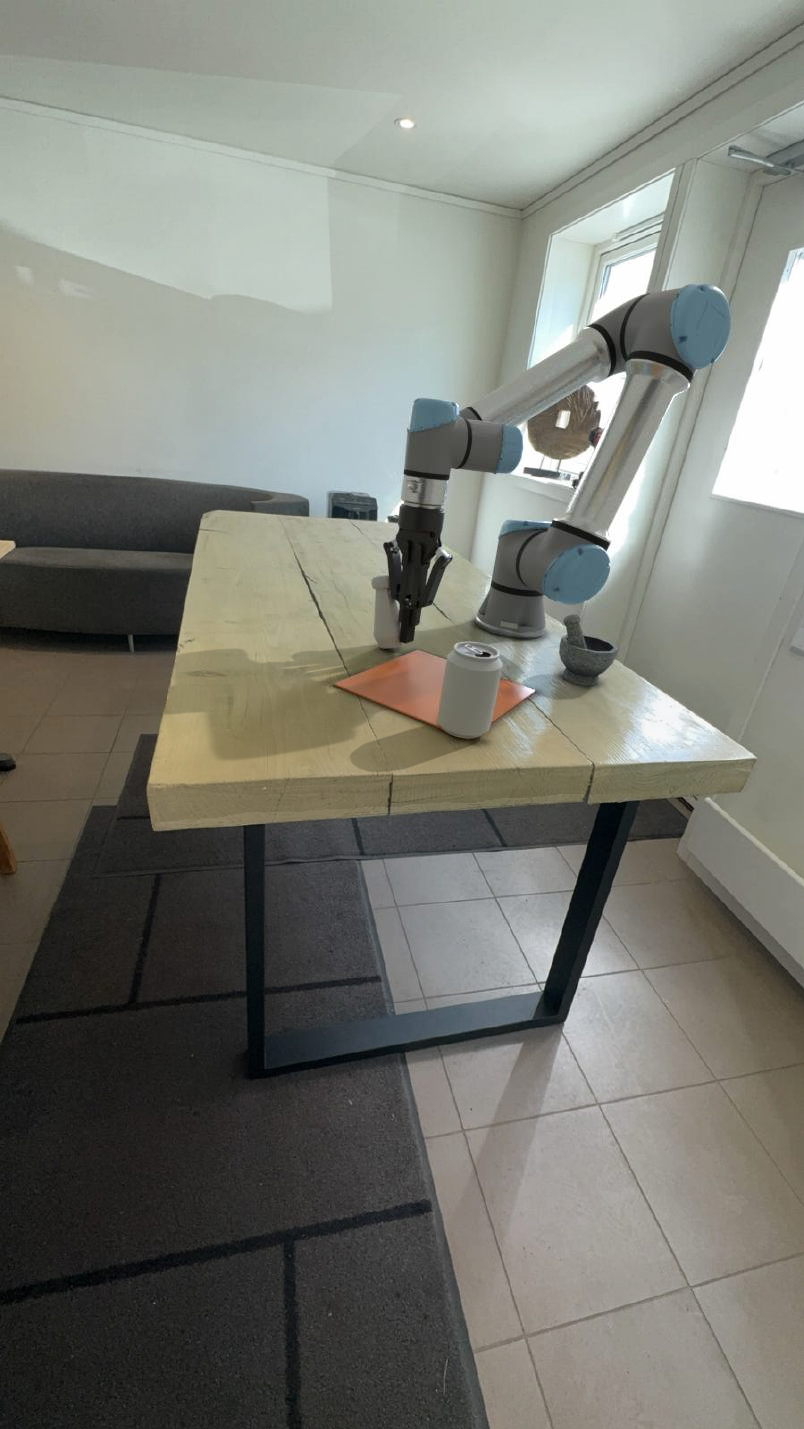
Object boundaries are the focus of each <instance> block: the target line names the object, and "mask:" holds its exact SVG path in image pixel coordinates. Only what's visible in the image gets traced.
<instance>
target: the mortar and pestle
mask: <svg viewBox="0 0 804 1429" xmlns="http://www.w3.org/2000/svg"><path fill="white" fill-rule="evenodd" d="M563 625H564V626H565V629H566V634H565V635H564V636H562V637H561V638H560V642H559V651H558V654H559V657H560V661H561V663H562V664H563V665H564V667H565V668H564V670H563V673H562V677H563V678H564V680H566V681H568V682H571V683H573V684H575V685H579V686H586V687H587V686H588V687H589V686H595V685H597V684H598V682H599V676H600V675H603V673H605V672H606V671H607V670H608V669H609V668H610V667H611V666H612V665H613V663H614V661H615V659H616V658H617V654H618V651H619V648H618V647H617V646H616V645H615V644H614V642H611V641H608V640H606V639H603V638H601V637H598V636H594V635H593V636H592V635H588V634H584V633H583V629H582V626H581V617H580V616H579V615H578V614H574V613H573V614H569V615H567V616H565V617H564V618H563Z"/></svg>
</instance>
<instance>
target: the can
mask: <svg viewBox="0 0 804 1429" xmlns="http://www.w3.org/2000/svg"><path fill="white" fill-rule="evenodd" d="M452 647H453V650H451V651H450V652H449V653H448V654H447V655H446V667H445V673H444V679H443V685H442V691H441V698H440V704H439V710H438V716H437V722H438V723H439V725H440V726H441V727H442V728H443V730H442V731H444V732H446V733H447V734H448V735H451V736H452V737H453V736H454V737H455V738H456V737H457V738H459V739H464V738H470V739H476V738H479V737H481V736H483V735H484V734H486V733H488V732H489V730H490V729H491V724H492V723H491V720H492V716H493V711H494V706H495V701H496V696H497V691H498V687H499V682H500V678H501V677H502V673H503V672H502V671H503V666H504V664H503V662H502V660H501V658H500V656H501V652H500V651H499V650H498V649H497V648H496V647H494V646H493V645H489V644H487V643H483V642H478V641H460V642H457V643H455V644H454V645H453V646H452Z"/></svg>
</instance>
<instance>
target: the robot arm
mask: <svg viewBox="0 0 804 1429" xmlns="http://www.w3.org/2000/svg"><path fill="white" fill-rule="evenodd" d="M730 311H731V307H730V304H729V301H728V299H727V296H726V295H725V293H724V292H723V291H722V289H720V288H719V287H717V286H716V285H714V284H710V283H701V284H695V283H689V284H686V285H684V286H682V287H678V288H677V287H676V288H671V289H667V290H661V291H660V290H659V291H656V292H649V293H643V294H640V295H637V296H635V297H633V298H631V299H628V300H627V301H625V302H623V303H622V304H620V305H619V306H617V307H615V308H614V309H612V310H610V311H608V312H607V313H606V314H604V315H602V316H601V317H599V318H598V319H596V320H595V321H593V322H591V323H590V324H589V325H587V326H585V327H583V328H582V329H580V331H578V333H577V335H576V338H575V340H574V341H572V342H570V343H569V344H567V345H565V346H564V347H561V349H559V350H557V351H556V352H554V353H552V354H550V355H549V356H548V357H546V358H544V359H542V360H541V361H539V362H538V363H536V364H534V365H533V366H531V367H529V368H528V369H526V370H525V371H523V372H522V373H520V374H518V375H516V376H515V377H514V378H512V379H510V380H508V381H507V382H505V383H504V384H502V385H500V386H499V387H497V388H495V389H494V390H491V392H489V393H487V394H486V395H484V396H482V397H481V398H479V399H477V400H476V401H474V402H472V403H471V404H469V405H468V406H466V407H464V408H463V409H460V407H459V405H458V403H457V402H456V401H450V400H446V399H439V398H429V397H428V398H427V397H418V398H416V399H414V400H413V401H412V404H411V405H410V411H409V414H408V415H409V416H408V422H407V427H406V443H405V456H404V467H403V472H402V473H403V475H402V482H401V483H402V484H401V492H400V500H401V501H402V502H403V503H401V504H400V505H399V509H398V518H397V519H398V520H397V526H398V530H397V532H396V535H395V538H394V539H392V540H390V541H384V542H383V544H382V547H383V550H384V553H385V555H386V561H387V571H388V574H389V583H390V594H391V598H392V599H395V600H396V602H397V603H398V604H399V606H398V609H399V616H398V620H399V622H401V630H400V639H399V642H401V643H402V644H405V645H406V644H409V643H412V642H414V641H415V634H416V633H415V632H416V627H417V626H419V625H420V623H421V615H422V609H423V608H427V607H429V606H430V607H431V606H432V605H433V604H434V601H435V598H436V595H437V592H438V590H439V587H440V584H441V582H442V579H443V576H444V574H445V571H446V569H447V567H448V566H449V564H450V563H451V562H452V561H453V560H454V556H453V554H451V553H447V552H446V551H445V550H444V548H443V542H442V536H441V535H442V533H443V529H444V522H445V513H446V511H445V509H444V508H443V507H445V506H446V505H447V500H448V493H449V484H450V478H451V471H452V470H465V471H472V472H478V473H479V472H482V473H490V474H493V475H497V474H501V475H502V474H505V475H507V474H511V473H512V472H514V471H515V470H516V469H517V468H518V466H519V465H520V462H521V461H522V458H523V451H524V446H525V442H524V436H523V435H524V434H523V432H522V431H521V429H520V428H519V426H521V425H523V424H524V423H526V422H527V421H529V420H530V419H532V418H534V417H535V416H537V415H539V414H541V413H543V411H545V410H547V409H549V408H550V407H552V406H553V405H555V404H556V403H558V402H560V401H562V400H563V399H565V398H567V397H568V396H570V395H572V394H573V393H575V392H576V391H578V390H580V389H582V388H583V387H585V386H586V385H588V384H590V383H591V382H592V383H597V384H598V383H601V382H603V381H605V380H607V379H608V378H610V377H613V376H614V375H617V374H620V373H625V375H626V381H625V383H624V386H623V387H622V389H621V392H620V394H619V396H618V398H617V400H616V403H615V405H614V407H613V409H612V411H611V413H610V416H609V418H608V420H607V422H606V424H605V426H604V428H603V431H602V433H601V434H600V436H599V439H598V441H597V443H596V445H595V447H594V449H593V452H592V453H591V456H590V458H589V461H588V462H587V465H586V467H585V468H584V471H583V473H582V475H581V478H580V480H579V481H578V483H577V486H576V488H575V490H574V492H573V495H572V497H571V499H570V500H569V503H568V505H567V507H566V509H565V511H564V512H563V513H562V514H559V515H558V516H556V517H553V519H552V520H551V521H539V520H538V521H537V520H524V519H506V520H505V521H504V522H502V525H501V529H500V531H499V535H498V536H497V540H498V542H497V548H496V552H495V558H494V563H493V564H494V565H493V569H492V575H491V580H490V585H489V589H488V591H487V594H486V595H485V598H484V600H483V601H482V603H481V605H480V607H479V609H478V610H477V613H476V617H475V624H476V625H477V626H478V627H479V628H480V629H482V630H484V631H487V632H489V633H492V634H495V635H498V636H501V637H507V638H513V639H535V638H536V639H537V638H540V637H542V636H544V634H545V630H546V625H547V624H546V613H545V612H546V611H545V603H544V602H545V601H544V597H546V598H548V599H549V600H552V601H554V602H556V603H561V604H563V605H567V606H576V605H580V604H583V603H585V602H586V601H589V600H591V599H592V598H594V597H595V596H596V595H598V593H599V592H600V591H601V590H602V589H603V588H604V586H605V584H606V583H607V581H608V579H609V576H610V572H611V566H610V563H611V559H610V556H609V554H608V553H607V552H608V549H609V547H610V546H611V544H612V540H611V536H610V534H609V529H610V527H611V525H612V523H613V521H614V519H615V517H616V516H617V513H618V510H619V509H620V507H621V505H622V503H623V501H624V499H625V497H626V495H627V493H628V491H629V489H630V487H631V485H632V483H633V481H634V479H635V476H636V475H637V473H638V471H639V469H640V467H641V464H642V462H643V461H644V458H645V456H646V455H647V452H648V450H649V448H650V446H651V444H652V442H653V440H654V438H655V436H656V434H657V432H658V431H659V428H660V427H661V424H662V422H663V420H664V418H665V416H666V414H667V412H668V411H669V408H670V406H671V404H672V402H673V400H674V397H676V396H678V395H680V394H682V393H684V392H686V391H687V390H688V389H689V387H690V386H691V384H692V381H693V379H694V378H695V375H696V374H697V372H698V370H703V369H705V368H707V367H709V366H711V365H712V364H714V363H715V362H716V361H717V360H718V359H719V358H721V355H722V354H723V352H724V351H725V348H726V347H727V345H728V341H729V338H730V335H731V334H730V333H731V329H732V328H731V327H732V316H731V314H730ZM433 558H434V560H433V561H434V564H433V565H432V567H431V562H432V559H433ZM430 568H431V570H430V573H429V569H430ZM428 573H429V574H428Z"/></svg>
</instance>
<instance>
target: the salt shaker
mask: <svg viewBox="0 0 804 1429" xmlns="http://www.w3.org/2000/svg"><path fill="white" fill-rule="evenodd" d="M370 582H371V587H372V589H373V590H375V597H374V599H375V600H374V620H373V621H374V622H373V637H374V638H373V639H374V640H375V642H376V643H377V645H378V648H380V649H394V648H398V647H402V645H403V643H401V642H399V639H400V630H401V622H399V620H398V616H399V606H398V602H397V601H396V600H395V599H392V598H391V594H390V583H389V573H384V574H376V575H374V576H372V578H371V581H370Z"/></svg>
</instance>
